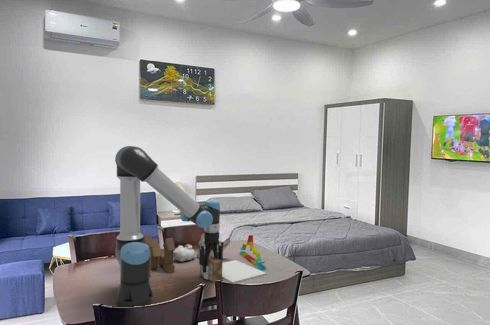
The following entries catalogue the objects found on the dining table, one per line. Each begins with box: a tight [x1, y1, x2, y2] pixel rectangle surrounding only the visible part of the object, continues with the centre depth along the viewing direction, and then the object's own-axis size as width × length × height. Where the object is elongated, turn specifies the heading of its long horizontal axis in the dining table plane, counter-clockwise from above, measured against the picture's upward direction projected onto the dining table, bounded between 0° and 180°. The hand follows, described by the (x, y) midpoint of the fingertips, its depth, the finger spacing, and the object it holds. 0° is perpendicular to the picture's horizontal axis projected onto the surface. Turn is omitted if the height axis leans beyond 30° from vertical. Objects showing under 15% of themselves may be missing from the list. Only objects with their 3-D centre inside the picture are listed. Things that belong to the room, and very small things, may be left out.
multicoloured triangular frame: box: [239, 234, 267, 271], centre depth 212 cm, size 30×3×15 cm, turn 23°
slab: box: [199, 255, 224, 284], centre depth 183 cm, size 5×12×10 cm, turn 40°
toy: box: [196, 232, 231, 259], centre depth 214 cm, size 8×15×20 cm
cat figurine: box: [173, 244, 196, 263], centre depth 209 cm, size 10×8×15 cm
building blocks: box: [140, 202, 176, 278], centre depth 191 cm, size 19×25×35 cm
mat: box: [222, 259, 267, 284], centre depth 194 cm, size 22×26×1 cm
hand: (210, 277), depth 183 cm, fingers closed on slab, 5 cm apart
